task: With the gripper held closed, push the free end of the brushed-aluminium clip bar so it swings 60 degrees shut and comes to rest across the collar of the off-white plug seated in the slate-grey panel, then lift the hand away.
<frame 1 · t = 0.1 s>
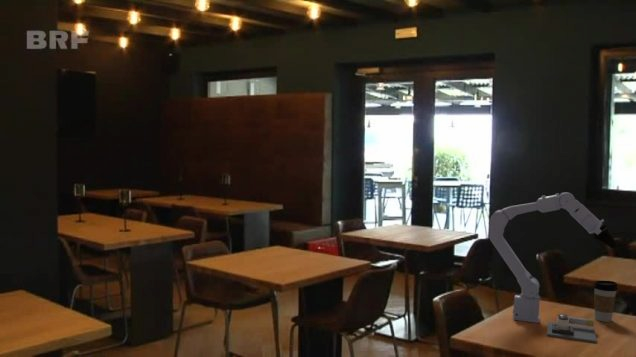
hand: (613, 244, 223), 32 cm above the table, tool tilted 50°, fingers open, 7 cm apart
coffee cup: (602, 320, 239), on the table
clip: (575, 320, 225), point 4 cm above the table, hinge at 60.0°
panel: (570, 332, 221), on the table
plug: (562, 333, 220), resting on panel
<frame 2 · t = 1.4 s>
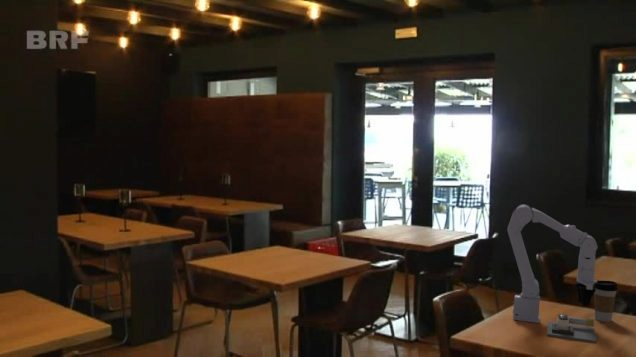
hand: (583, 304, 229), 8 cm above the table, tool pointing down, fingers open, 5 cm apart
nothing on the table moved.
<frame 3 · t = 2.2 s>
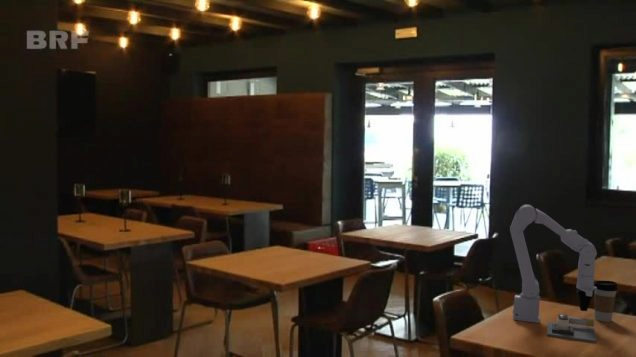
hand: (583, 310, 229), 6 cm above the table, tool pointing down, fingers closed
nothing on the table moved.
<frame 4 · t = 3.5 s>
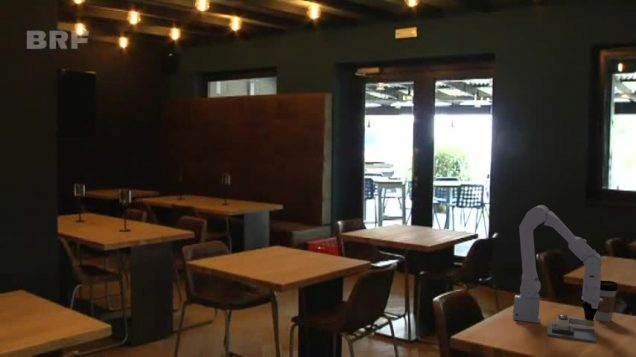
hand: (588, 322, 225), 3 cm above the table, tool pointing down, fingers closed, pressing on clip
clip: (575, 320, 225), point 3 cm above the table, hinge at 59.8°, touching gripper
everything else where it was.
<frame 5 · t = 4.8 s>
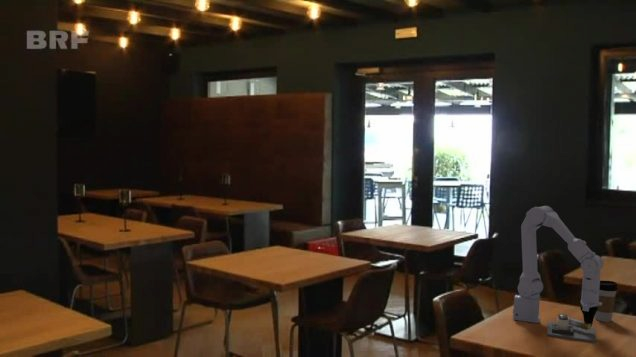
hand: (588, 326, 220), 3 cm above the table, tool pointing down, fingers closed, pressing on clip
clip: (573, 321, 223), point 3 cm above the table, hinge at 26.9°, touching gripper
everything else where it was.
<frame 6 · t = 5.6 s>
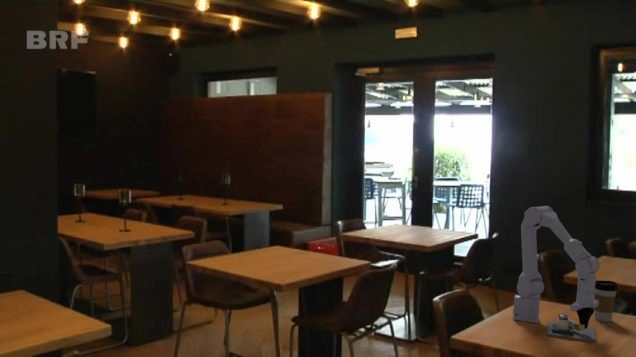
hand: (583, 327, 218), 3 cm above the table, tool pointing down, fingers closed, pressing on clip
clip: (570, 322, 222), point 3 cm above the table, hinge at 6.9°, touching gripper
everything else where it was.
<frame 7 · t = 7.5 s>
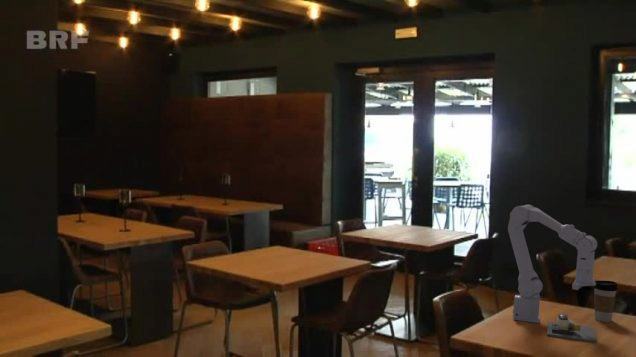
hand: (582, 306, 223), 9 cm above the table, tool pointing down, fingers closed
clip: (568, 322, 222), point 3 cm above the table, hinge at -2.1°
everything else where it was.
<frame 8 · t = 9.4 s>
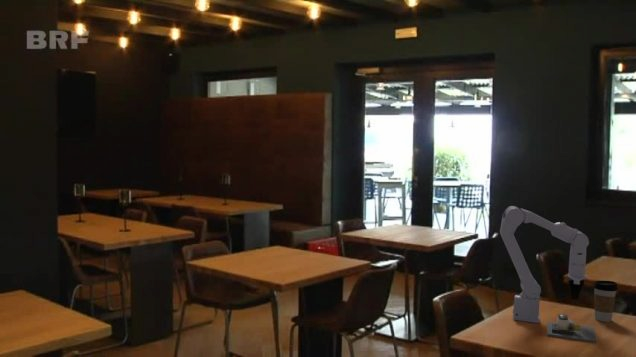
hand: (574, 299, 232), 9 cm above the table, tool pointing down, fingers closed
nothing on the table moved.
at the end: clip at -2° (first picture: +60°); clip touching nothing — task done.
